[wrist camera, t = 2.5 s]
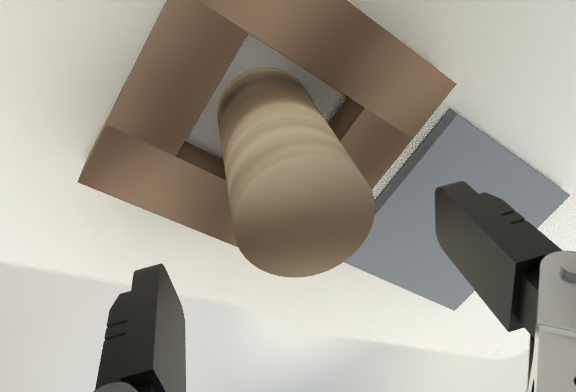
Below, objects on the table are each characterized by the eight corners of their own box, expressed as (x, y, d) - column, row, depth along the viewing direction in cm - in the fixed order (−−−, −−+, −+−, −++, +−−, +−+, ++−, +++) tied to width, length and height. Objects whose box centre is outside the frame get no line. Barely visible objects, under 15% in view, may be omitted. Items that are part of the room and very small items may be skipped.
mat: (334, 250, 27) (338, 259, 26) (449, 108, 23) (457, 114, 23) (448, 302, 31) (454, 310, 30) (560, 188, 27) (570, 195, 27)
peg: (213, 70, 20) (227, 163, 12) (311, 65, 21) (382, 150, 13) (221, 160, 22) (237, 285, 15) (309, 153, 23) (368, 268, 15)
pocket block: (86, 160, 21) (77, 182, 19) (215, -96, 17) (218, -97, 15) (296, 251, 26) (304, 274, 24) (435, 71, 22) (456, 83, 20)
